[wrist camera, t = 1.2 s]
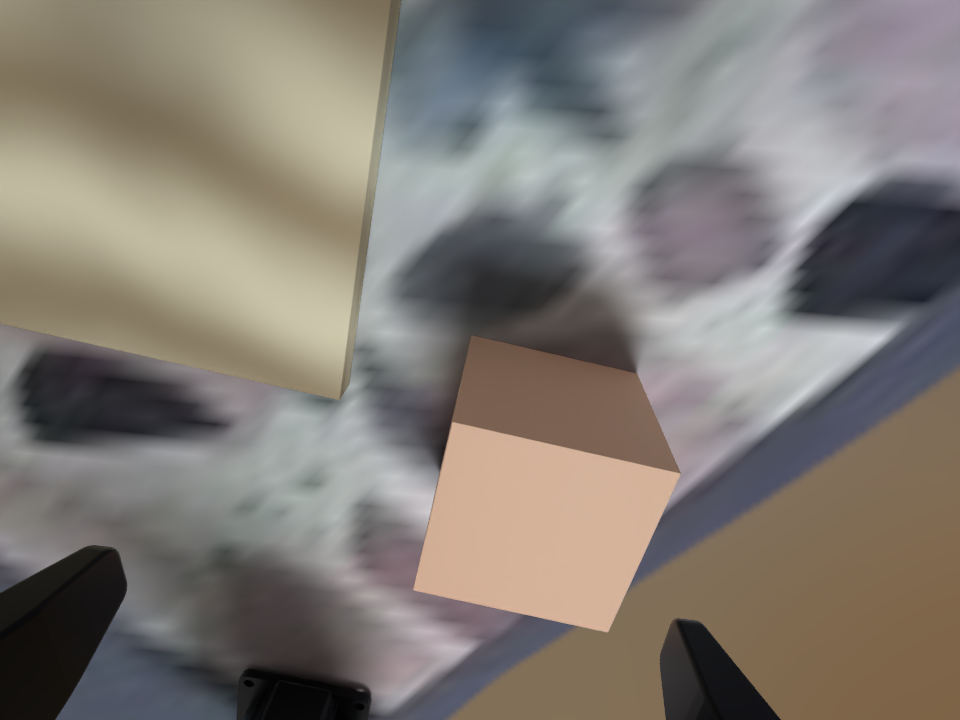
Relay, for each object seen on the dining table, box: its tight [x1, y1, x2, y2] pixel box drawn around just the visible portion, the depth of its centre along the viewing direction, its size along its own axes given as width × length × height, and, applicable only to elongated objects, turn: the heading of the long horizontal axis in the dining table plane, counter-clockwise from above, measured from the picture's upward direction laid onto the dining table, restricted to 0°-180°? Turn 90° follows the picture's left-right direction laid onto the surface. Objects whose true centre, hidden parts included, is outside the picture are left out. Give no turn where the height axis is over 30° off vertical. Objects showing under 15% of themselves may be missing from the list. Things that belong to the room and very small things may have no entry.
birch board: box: [0, 0, 401, 400], centre depth 17 cm, size 14×14×1 cm
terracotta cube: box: [413, 335, 681, 632], centre depth 18 cm, size 6×6×6 cm
